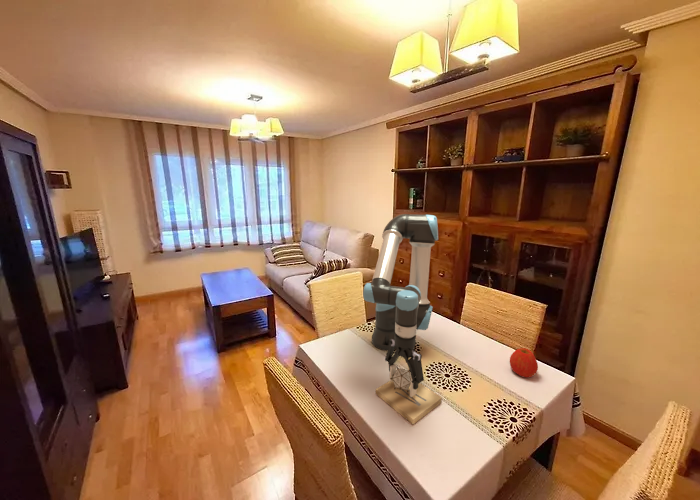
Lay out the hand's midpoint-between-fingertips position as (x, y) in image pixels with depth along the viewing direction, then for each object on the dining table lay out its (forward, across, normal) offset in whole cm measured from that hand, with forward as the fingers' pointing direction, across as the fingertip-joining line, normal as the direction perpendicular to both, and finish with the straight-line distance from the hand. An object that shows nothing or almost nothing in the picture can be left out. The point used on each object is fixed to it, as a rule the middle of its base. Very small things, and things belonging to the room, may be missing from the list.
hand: (402, 387), depth 106 cm
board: (+3, +3, 0) cm, 4 cm away
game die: (+1, 0, 0) cm, 1 cm away
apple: (+3, +22, +50) cm, 55 cm away
